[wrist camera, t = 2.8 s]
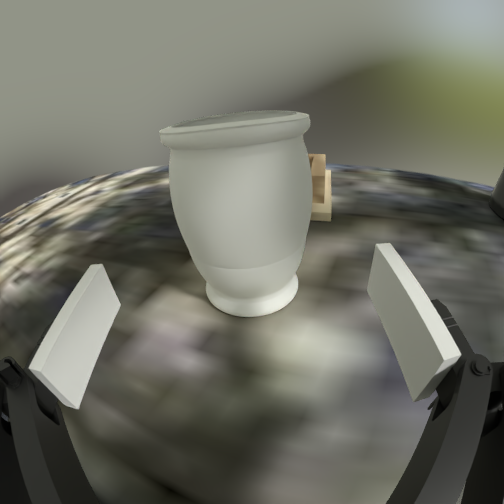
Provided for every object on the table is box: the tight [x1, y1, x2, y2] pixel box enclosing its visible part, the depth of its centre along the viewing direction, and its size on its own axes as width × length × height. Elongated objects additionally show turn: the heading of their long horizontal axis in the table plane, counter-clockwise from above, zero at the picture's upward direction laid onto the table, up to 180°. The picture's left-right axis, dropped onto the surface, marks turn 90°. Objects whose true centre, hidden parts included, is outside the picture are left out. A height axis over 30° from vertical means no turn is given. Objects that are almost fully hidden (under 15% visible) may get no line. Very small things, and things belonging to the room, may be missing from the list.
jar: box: [159, 111, 313, 317], centre depth 21 cm, size 11×10×15 cm
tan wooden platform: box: [308, 154, 331, 221], centre depth 42 cm, size 22×20×12 cm
